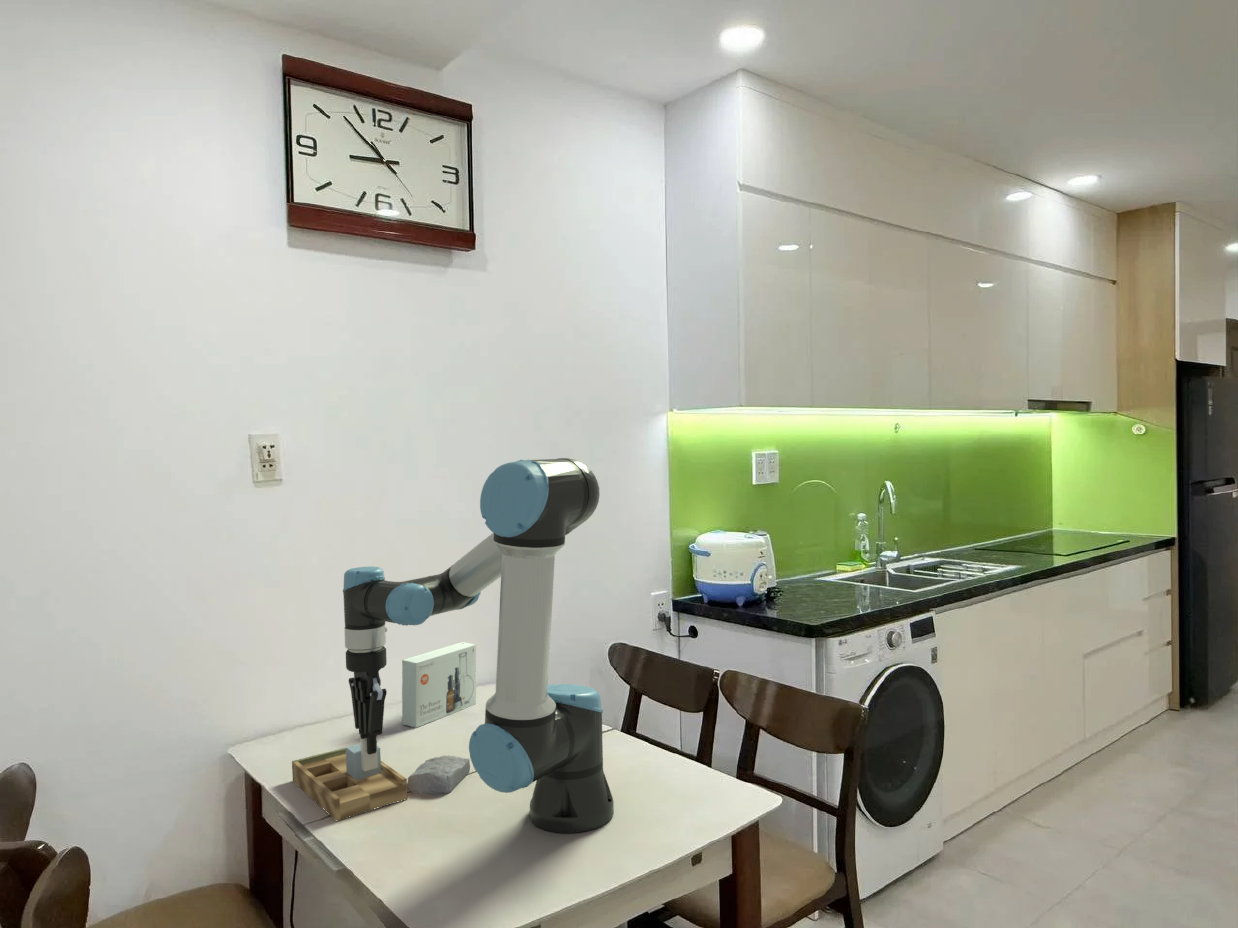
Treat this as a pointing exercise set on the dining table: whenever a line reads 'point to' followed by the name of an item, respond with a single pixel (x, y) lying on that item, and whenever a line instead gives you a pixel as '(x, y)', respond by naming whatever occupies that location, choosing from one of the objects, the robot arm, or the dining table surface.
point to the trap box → (346, 785)
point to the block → (359, 762)
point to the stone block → (439, 775)
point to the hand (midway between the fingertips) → (369, 768)
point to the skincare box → (438, 683)
